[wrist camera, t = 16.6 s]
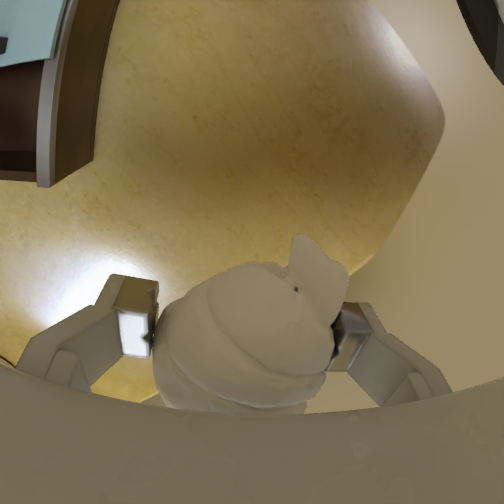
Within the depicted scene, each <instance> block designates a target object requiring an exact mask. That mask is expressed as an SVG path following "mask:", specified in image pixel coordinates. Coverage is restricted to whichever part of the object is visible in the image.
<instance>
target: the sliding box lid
mask: <svg viewBox="0 0 504 504" xmlns="http://www.w3.org/2000/svg"><path fill="white" fill-rule="evenodd" d="M66 2H67V0H0V67H4V66H8V65H13V64H19V63H24V62H30V61H36V60H43V59H50V58H53V56H54V50H55V45H56V41H57V36H58V32H59V28H60V24H61V20H62V16H63V12H64V9H65V5H66Z"/></svg>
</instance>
